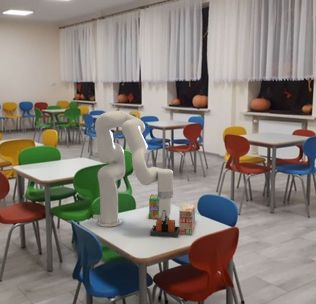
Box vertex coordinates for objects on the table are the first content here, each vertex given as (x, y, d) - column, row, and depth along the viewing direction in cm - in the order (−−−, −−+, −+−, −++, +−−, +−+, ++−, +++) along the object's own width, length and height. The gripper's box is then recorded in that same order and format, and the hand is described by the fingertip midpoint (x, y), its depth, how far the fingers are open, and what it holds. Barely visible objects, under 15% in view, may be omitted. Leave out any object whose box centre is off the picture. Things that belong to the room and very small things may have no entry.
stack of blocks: (183, 220, 230) (183, 198, 227) (195, 221, 228) (195, 199, 226) (179, 234, 209) (179, 210, 207) (191, 235, 208) (192, 211, 206)
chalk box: (150, 213, 241) (150, 188, 239) (166, 214, 240) (166, 189, 238) (148, 218, 232) (148, 192, 230) (165, 219, 231) (165, 193, 229)
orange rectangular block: (155, 231, 209) (155, 222, 208) (157, 227, 214) (157, 219, 213) (173, 232, 207) (173, 223, 206) (175, 228, 212) (175, 220, 211)
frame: (150, 235, 207) (150, 231, 207) (153, 229, 217) (153, 225, 216) (177, 237, 205) (177, 233, 204) (179, 230, 214) (179, 226, 214)
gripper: (160, 189, 216) (160, 223, 219) (155, 198, 200) (155, 235, 203) (174, 190, 215) (174, 224, 218) (170, 199, 198) (170, 235, 201)
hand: (165, 229), depth 210 cm, fingers closed on orange rectangular block, 5 cm apart
